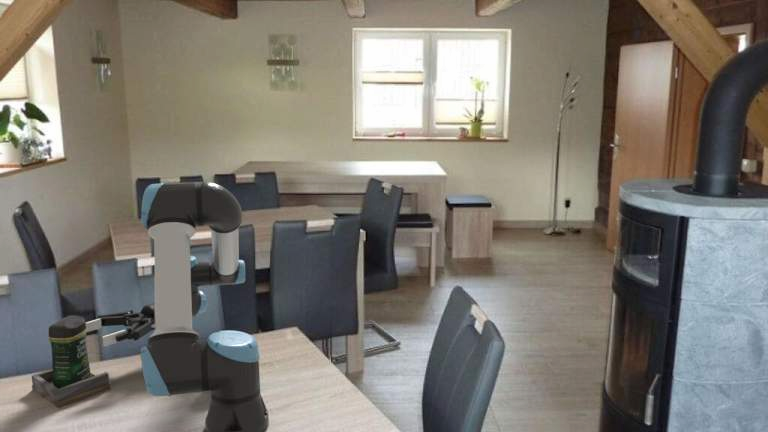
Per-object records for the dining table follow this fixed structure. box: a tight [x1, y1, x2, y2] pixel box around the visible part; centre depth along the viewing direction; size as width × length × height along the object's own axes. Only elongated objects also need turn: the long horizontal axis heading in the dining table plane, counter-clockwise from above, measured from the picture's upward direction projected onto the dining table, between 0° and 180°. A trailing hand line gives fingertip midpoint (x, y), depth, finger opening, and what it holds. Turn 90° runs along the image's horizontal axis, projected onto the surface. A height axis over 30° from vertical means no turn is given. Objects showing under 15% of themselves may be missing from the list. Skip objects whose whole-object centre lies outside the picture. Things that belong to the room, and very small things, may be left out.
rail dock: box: [31, 368, 112, 409], centre depth 176 cm, size 16×14×4 cm
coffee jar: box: [48, 314, 92, 389], centre depth 175 cm, size 10×8×19 cm
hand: (90, 335), depth 179 cm, fingers open, 13 cm apart
